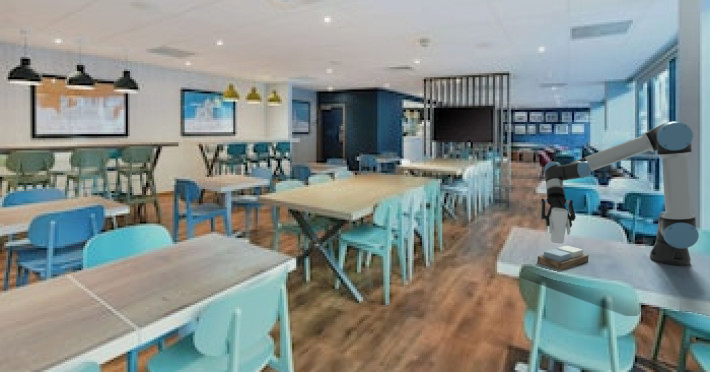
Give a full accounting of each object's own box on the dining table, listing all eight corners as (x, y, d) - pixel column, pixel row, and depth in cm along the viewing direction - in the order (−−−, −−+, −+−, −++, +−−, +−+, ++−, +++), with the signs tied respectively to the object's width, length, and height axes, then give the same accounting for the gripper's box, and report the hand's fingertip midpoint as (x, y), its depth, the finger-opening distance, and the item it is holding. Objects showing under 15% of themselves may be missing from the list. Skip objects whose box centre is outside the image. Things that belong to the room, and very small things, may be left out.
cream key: (582, 256, 190) (583, 249, 190) (572, 259, 186) (573, 252, 185) (566, 252, 197) (566, 245, 196) (556, 254, 193) (556, 248, 192)
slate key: (570, 260, 185) (570, 253, 184) (559, 263, 181) (560, 256, 180) (553, 255, 192) (554, 248, 191) (543, 258, 187) (543, 251, 187)
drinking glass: (567, 244, 181) (570, 211, 179) (551, 243, 183) (553, 210, 180) (563, 240, 188) (565, 208, 186) (547, 239, 189) (549, 207, 187)
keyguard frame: (588, 261, 190) (588, 255, 189) (561, 270, 179) (561, 263, 178) (564, 254, 199) (564, 248, 199) (537, 262, 188) (537, 256, 188)
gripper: (575, 196, 194) (582, 238, 181) (531, 194, 199) (534, 235, 186) (579, 186, 188) (586, 229, 175) (534, 184, 193) (537, 226, 180)
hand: (559, 232), depth 181 cm, fingers closed on drinking glass, 6 cm apart
